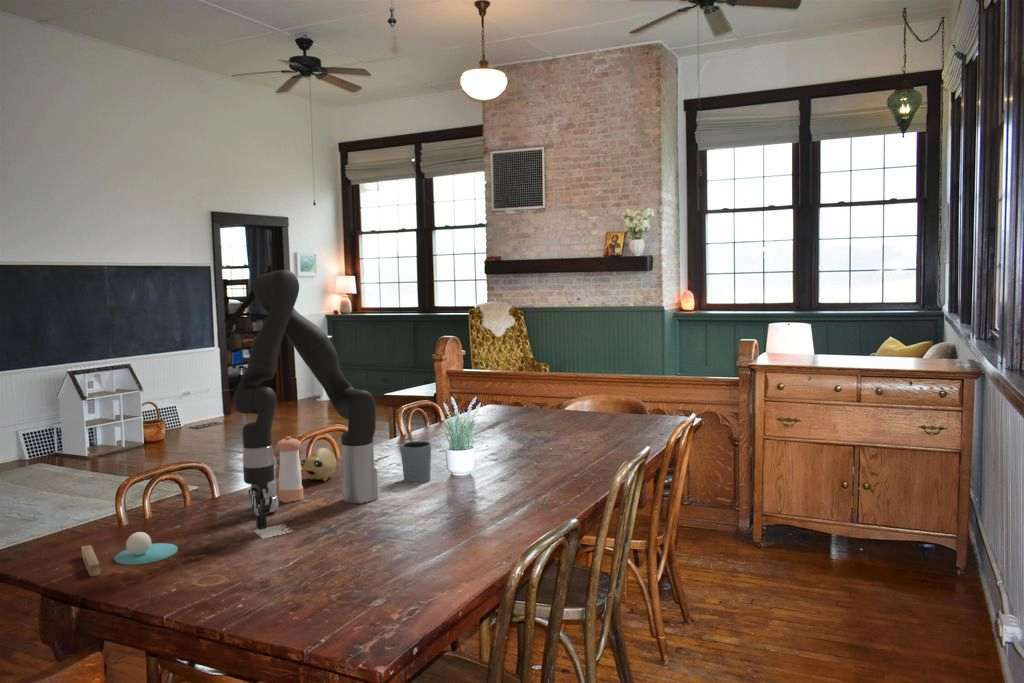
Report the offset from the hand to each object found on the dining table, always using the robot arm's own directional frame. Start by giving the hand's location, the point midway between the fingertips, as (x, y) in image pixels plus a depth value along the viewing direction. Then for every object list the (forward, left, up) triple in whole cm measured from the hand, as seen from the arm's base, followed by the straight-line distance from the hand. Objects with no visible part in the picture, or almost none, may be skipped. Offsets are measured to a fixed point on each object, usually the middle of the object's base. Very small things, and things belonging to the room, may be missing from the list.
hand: (261, 528), depth 199 cm
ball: (+28, -4, +1) cm, 29 cm away
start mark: (-3, 0, -2) cm, 3 cm away
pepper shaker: (-17, -27, -2) cm, 32 cm away
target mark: (+27, -3, -2) cm, 27 cm away
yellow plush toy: (-32, -43, -2) cm, 54 cm away
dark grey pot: (-57, -22, -2) cm, 61 cm away
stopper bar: (+39, -3, -2) cm, 39 cm away
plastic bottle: (-7, -18, -2) cm, 19 cm away
